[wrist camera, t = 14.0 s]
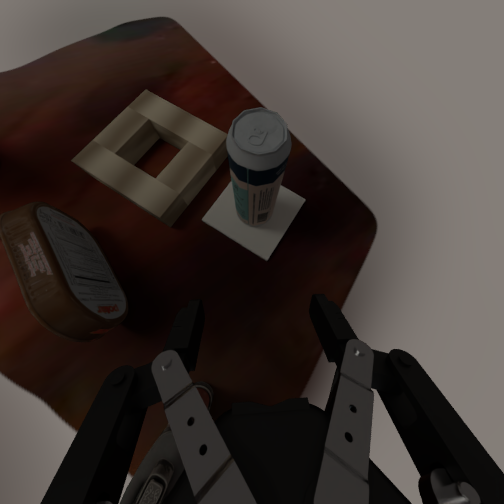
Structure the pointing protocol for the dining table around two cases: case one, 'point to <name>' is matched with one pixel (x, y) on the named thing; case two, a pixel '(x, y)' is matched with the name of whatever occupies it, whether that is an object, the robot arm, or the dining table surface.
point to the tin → (62, 272)
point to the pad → (254, 237)
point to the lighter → (160, 465)
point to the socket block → (140, 141)
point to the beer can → (257, 162)
